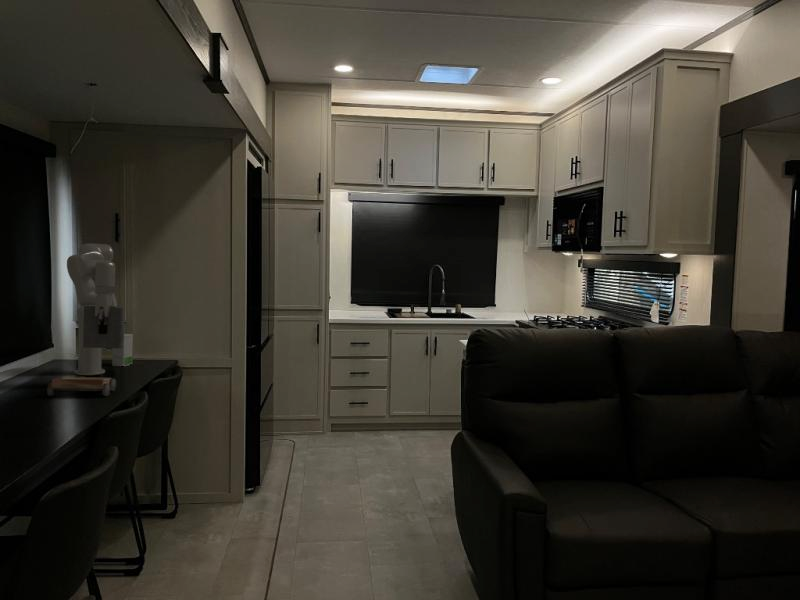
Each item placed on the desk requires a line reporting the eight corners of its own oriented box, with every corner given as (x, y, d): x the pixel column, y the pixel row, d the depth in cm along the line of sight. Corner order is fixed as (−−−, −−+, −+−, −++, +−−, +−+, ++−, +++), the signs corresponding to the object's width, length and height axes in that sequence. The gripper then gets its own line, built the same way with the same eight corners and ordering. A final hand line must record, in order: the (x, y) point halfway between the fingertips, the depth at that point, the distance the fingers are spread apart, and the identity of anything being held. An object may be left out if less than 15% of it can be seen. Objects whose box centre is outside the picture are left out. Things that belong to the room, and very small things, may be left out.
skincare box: (123, 367, 294) (123, 335, 293) (110, 366, 295) (111, 334, 294) (133, 364, 302) (133, 333, 301) (120, 363, 303) (121, 332, 302)
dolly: (60, 389, 243) (60, 372, 242) (115, 389, 247) (116, 372, 246) (47, 397, 229) (47, 379, 228) (106, 397, 233) (106, 379, 233)
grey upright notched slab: (82, 347, 251) (83, 300, 250) (84, 346, 255) (85, 299, 254) (122, 348, 255) (123, 302, 254) (124, 346, 259) (126, 301, 258)
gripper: (100, 288, 261) (99, 330, 262) (89, 291, 245) (89, 335, 246) (118, 289, 262) (118, 330, 264) (109, 292, 246) (108, 336, 247)
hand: (104, 332), depth 255 cm, fingers closed on grey upright notched slab, 3 cm apart
